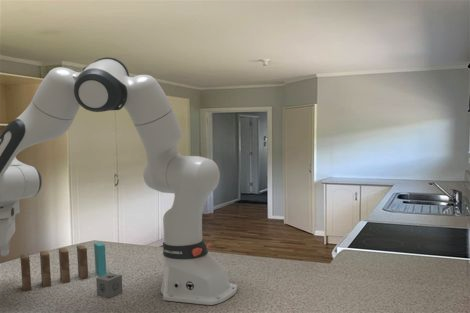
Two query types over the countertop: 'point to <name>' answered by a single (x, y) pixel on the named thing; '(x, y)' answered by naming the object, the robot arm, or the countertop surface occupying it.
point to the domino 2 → (45, 268)
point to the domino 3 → (64, 265)
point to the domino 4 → (82, 262)
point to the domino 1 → (25, 272)
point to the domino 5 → (100, 258)
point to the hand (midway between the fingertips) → (5, 254)
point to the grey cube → (109, 285)
